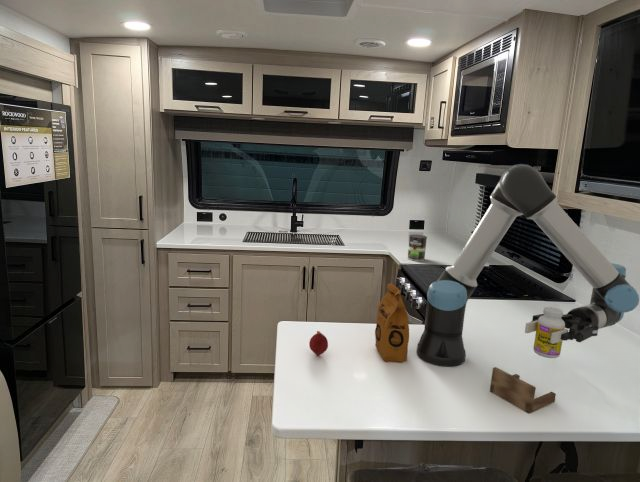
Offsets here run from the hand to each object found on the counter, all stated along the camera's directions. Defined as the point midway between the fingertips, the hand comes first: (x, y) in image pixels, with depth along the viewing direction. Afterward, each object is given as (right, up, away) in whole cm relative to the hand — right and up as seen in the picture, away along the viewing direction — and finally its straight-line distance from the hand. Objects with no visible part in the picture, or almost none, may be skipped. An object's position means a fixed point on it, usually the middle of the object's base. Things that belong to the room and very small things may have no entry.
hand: (539, 333), depth 120 cm
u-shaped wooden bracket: (-3, -17, +2) cm, 18 cm away
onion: (-59, -11, +21) cm, 64 cm away
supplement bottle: (+4, -7, +4) cm, 9 cm away
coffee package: (-36, -12, +23) cm, 45 cm away
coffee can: (-1, +14, +151) cm, 152 cm away
